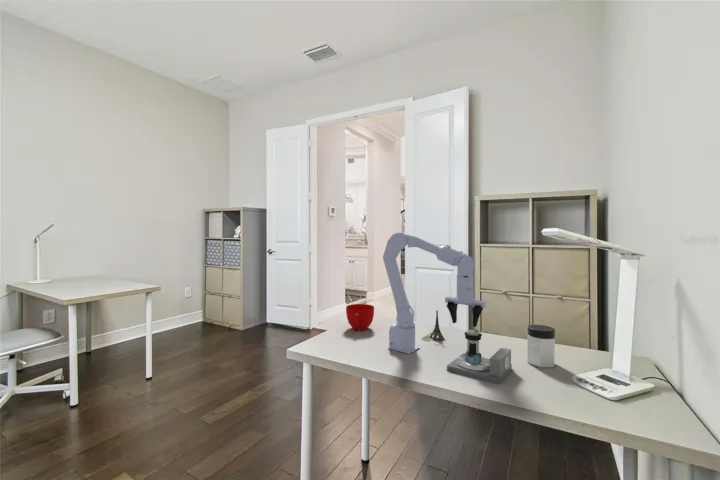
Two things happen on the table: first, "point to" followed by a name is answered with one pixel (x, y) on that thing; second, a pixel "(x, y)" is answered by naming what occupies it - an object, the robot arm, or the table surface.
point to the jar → (541, 346)
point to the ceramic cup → (360, 315)
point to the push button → (473, 346)
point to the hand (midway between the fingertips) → (464, 324)
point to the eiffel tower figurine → (434, 333)
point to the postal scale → (484, 366)
